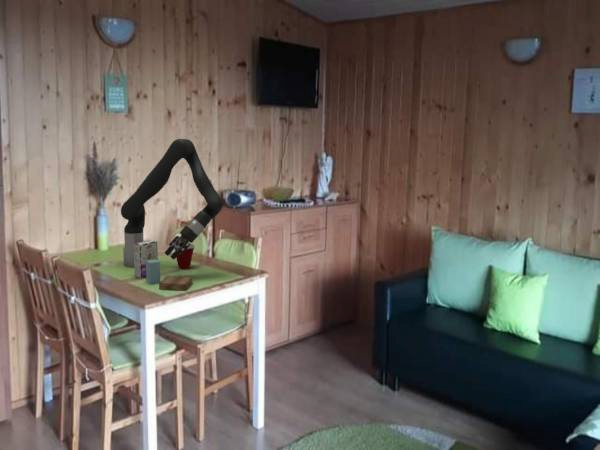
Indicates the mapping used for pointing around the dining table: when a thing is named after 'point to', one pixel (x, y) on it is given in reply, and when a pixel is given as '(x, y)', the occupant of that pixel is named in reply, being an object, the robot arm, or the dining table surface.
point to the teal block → (153, 271)
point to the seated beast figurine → (174, 249)
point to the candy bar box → (144, 256)
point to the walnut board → (175, 283)
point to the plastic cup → (185, 258)
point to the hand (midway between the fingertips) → (169, 256)
